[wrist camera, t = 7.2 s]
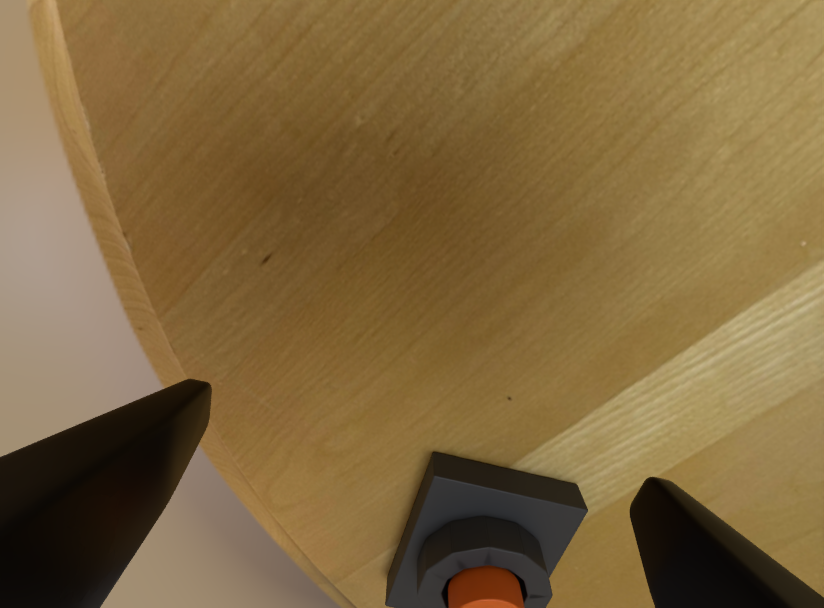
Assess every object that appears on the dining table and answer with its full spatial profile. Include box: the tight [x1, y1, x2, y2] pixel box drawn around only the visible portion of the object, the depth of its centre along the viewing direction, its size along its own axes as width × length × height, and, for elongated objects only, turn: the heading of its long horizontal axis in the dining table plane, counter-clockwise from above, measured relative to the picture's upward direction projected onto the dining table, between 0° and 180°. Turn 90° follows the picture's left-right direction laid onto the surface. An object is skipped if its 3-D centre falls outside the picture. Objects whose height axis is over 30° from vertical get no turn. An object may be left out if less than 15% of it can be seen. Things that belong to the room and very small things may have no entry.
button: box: [448, 565, 525, 608], centre depth 21 cm, size 4×4×2 cm
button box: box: [385, 452, 588, 608], centre depth 23 cm, size 8×10×4 cm
